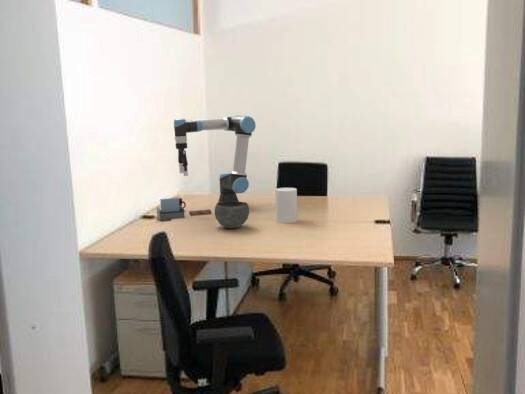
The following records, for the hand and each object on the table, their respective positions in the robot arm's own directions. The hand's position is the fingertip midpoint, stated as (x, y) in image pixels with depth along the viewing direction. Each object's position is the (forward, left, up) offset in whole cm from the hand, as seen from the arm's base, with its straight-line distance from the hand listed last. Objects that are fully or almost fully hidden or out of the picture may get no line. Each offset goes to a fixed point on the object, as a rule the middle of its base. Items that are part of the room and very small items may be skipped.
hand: (183, 174), depth 386 cm
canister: (-56, +44, -28) cm, 76 cm away
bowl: (-20, +48, -28) cm, 59 cm away
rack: (+11, +5, -28) cm, 30 cm away
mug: (+3, -10, -28) cm, 30 cm away
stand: (-9, +5, -28) cm, 29 cm away
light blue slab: (+11, +5, -27) cm, 29 cm away
